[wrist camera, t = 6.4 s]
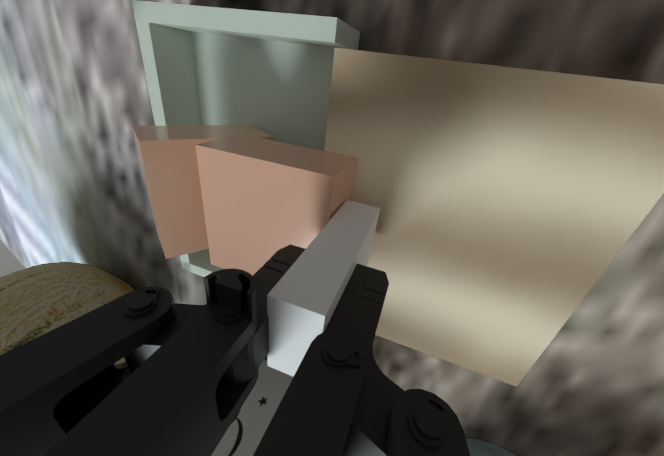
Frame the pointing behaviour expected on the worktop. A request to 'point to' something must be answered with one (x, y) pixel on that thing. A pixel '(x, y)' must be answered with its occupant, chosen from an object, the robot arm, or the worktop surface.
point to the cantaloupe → (52, 299)
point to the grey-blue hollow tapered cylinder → (486, 448)
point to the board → (492, 195)
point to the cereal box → (254, 413)
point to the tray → (240, 73)
